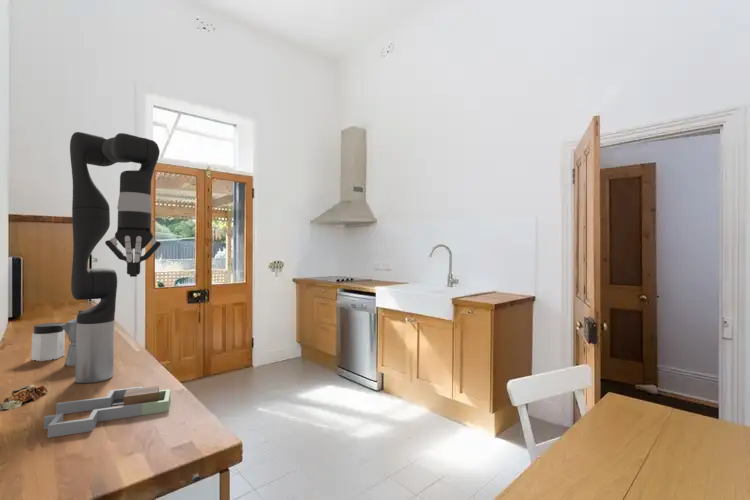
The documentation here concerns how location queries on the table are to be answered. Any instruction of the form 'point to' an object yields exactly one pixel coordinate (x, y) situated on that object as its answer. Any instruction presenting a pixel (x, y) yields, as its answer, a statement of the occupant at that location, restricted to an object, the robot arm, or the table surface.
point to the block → (141, 395)
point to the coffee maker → (71, 332)
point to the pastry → (22, 396)
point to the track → (101, 411)
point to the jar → (48, 342)
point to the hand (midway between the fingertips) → (133, 276)
